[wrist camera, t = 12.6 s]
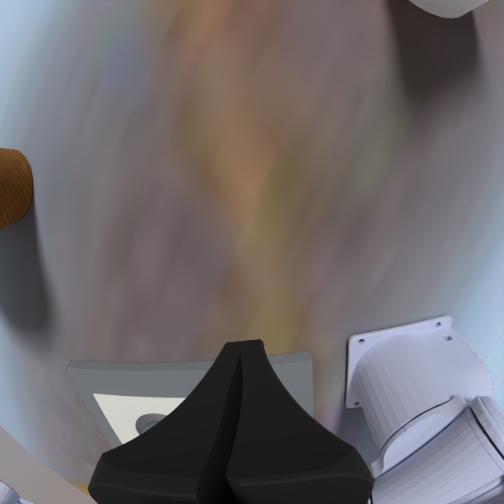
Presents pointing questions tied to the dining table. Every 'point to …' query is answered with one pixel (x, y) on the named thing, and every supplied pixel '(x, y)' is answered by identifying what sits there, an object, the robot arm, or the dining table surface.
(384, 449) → the robot arm
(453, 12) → the base with upright slab
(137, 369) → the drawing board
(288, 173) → the dining table surface
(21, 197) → the disposable coffee cup
